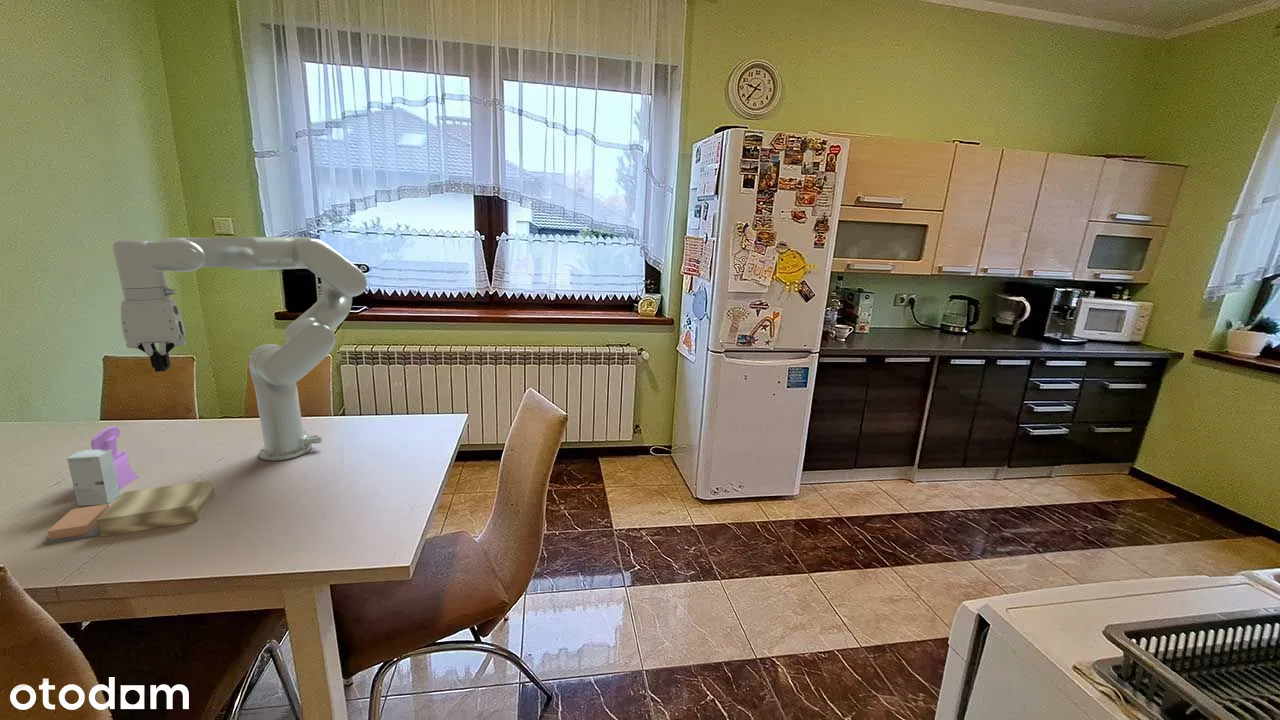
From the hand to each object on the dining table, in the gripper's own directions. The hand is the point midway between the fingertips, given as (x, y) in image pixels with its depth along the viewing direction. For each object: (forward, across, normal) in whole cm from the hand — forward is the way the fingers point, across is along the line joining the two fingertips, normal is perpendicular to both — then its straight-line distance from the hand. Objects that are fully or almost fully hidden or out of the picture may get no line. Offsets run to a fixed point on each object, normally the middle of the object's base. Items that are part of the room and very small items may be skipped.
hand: (162, 370), depth 124 cm
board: (+29, -1, +18) cm, 34 cm away
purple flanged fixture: (+29, +16, -3) cm, 34 cm away
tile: (+27, +12, +18) cm, 35 cm away
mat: (+29, +12, +18) cm, 36 cm away
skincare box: (+29, +14, +6) cm, 33 cm away
